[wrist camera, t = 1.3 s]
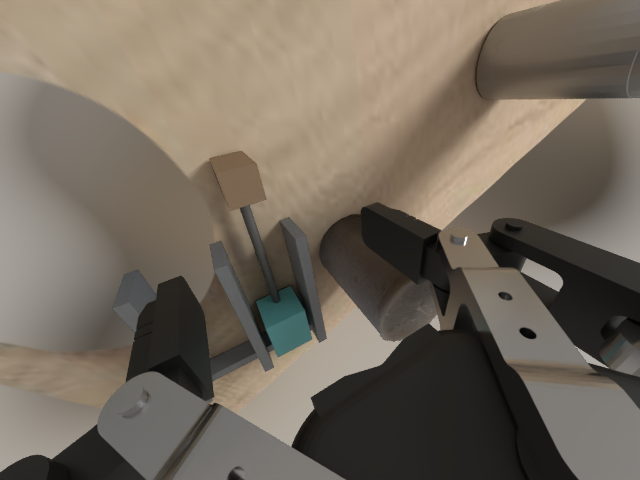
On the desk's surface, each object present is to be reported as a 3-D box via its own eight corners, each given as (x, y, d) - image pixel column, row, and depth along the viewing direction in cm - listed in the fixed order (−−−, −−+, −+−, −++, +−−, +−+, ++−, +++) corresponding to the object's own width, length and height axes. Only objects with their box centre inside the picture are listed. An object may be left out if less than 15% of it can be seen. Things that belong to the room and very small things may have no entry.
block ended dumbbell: (251, 148, 23) (268, 159, 18) (298, 314, 36) (315, 344, 32) (197, 161, 21) (201, 177, 17) (267, 329, 35) (280, 363, 30)
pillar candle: (354, 200, 32) (450, 258, 20) (385, 237, 38) (473, 298, 26) (305, 253, 32) (371, 339, 21) (343, 282, 38) (411, 361, 27)
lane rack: (289, 217, 29) (305, 235, 25) (312, 314, 38) (326, 338, 35) (124, 274, 23) (112, 308, 19) (200, 370, 33) (202, 406, 29)
